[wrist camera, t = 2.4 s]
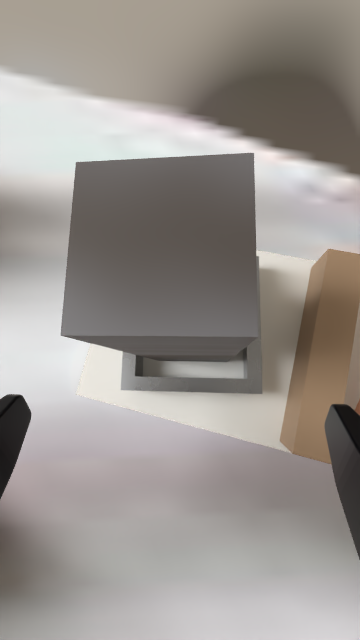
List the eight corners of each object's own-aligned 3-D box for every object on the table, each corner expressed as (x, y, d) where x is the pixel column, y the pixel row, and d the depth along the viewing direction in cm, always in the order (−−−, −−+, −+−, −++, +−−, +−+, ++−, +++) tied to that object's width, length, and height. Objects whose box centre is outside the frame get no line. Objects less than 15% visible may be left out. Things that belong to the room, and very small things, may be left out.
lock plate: (558, 312, 19) (650, 295, 15) (547, 519, 17) (648, 562, 13) (127, 232, 23) (110, 202, 19) (82, 393, 21) (52, 397, 17)
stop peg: (227, 361, 19) (258, 337, 6) (158, 360, 20) (60, 335, 7) (226, 294, 20) (253, 152, 7) (160, 294, 20) (75, 162, 8)
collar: (257, 392, 19) (262, 394, 17) (129, 388, 20) (120, 390, 18) (254, 267, 20) (258, 255, 18) (135, 269, 21) (127, 258, 19)
